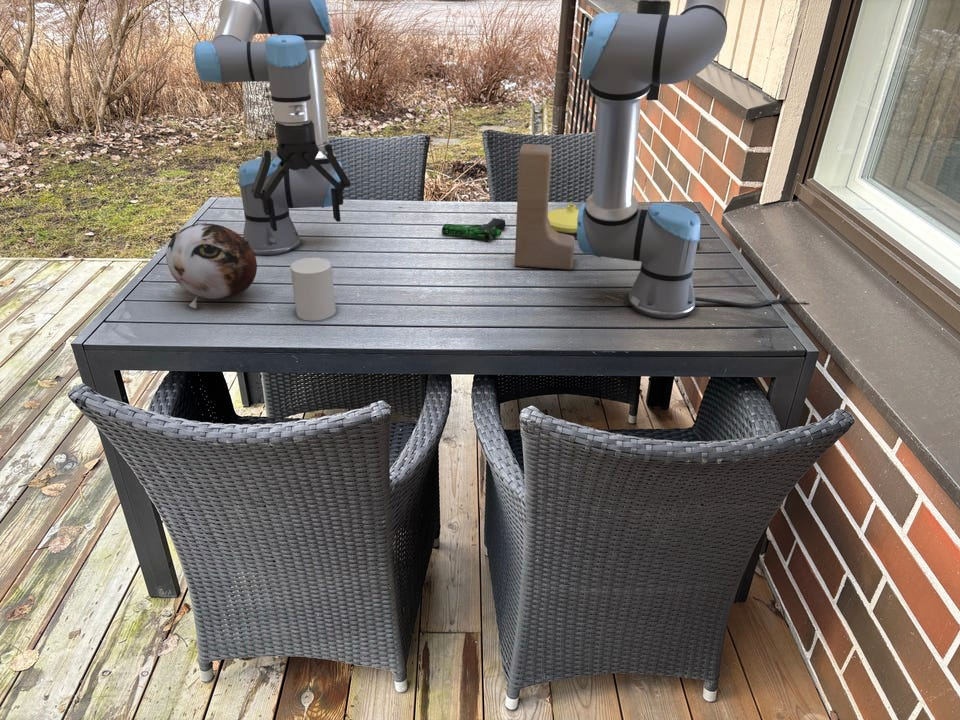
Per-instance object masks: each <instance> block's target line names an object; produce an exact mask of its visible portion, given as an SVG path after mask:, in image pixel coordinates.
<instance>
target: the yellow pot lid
mask: <svg viewBox="0 0 960 720" xmlns="http://www.w3.org/2000/svg"><path fill="white" fill-rule="evenodd" d="M579 209H580V208H576V205H575V204H571V203H570V204H567V208H557V209H552V210H548V215H547V216H548V219H549V222H550V225H551V228H553V229H554V230H555V231H557V232H558V233H562V234H577V218H578V212H579Z"/></svg>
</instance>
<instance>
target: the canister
mask: <svg viewBox="0 0 960 720" xmlns="http://www.w3.org/2000/svg"><path fill="white" fill-rule="evenodd" d="M290 274H291V283H292V290H293V297H294V304H295V312H296V317H297V318H299V319H301V320H304V321H309V322H317V321H323V320H327V319H329V318H332V317H333V316H334V315H335V314H336V312H337V306H336V297H335V287H334V277H333V267H332V262H331V261H330V260H328V259H326V258H322V257H305V258H301V259H297V260H296V261H294V262H292V263H291V264H290Z"/></svg>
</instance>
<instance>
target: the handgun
mask: <svg viewBox="0 0 960 720" xmlns="http://www.w3.org/2000/svg"><path fill="white" fill-rule="evenodd" d="M505 228H506V220H505V219H503V218H497V217H492V219H491V220H490V221H489V222H488V223H483V224H482V225H479V224H472V225H459V224H453V223H445V224H443V226H442V227H441V235H446V236H454V237H462V238H469V239H470V238H471V239H474V240H479V241H484V242H491V241H492V240H494V239H495V238H497V237H500V236H502V230H504V229H505Z"/></svg>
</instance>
